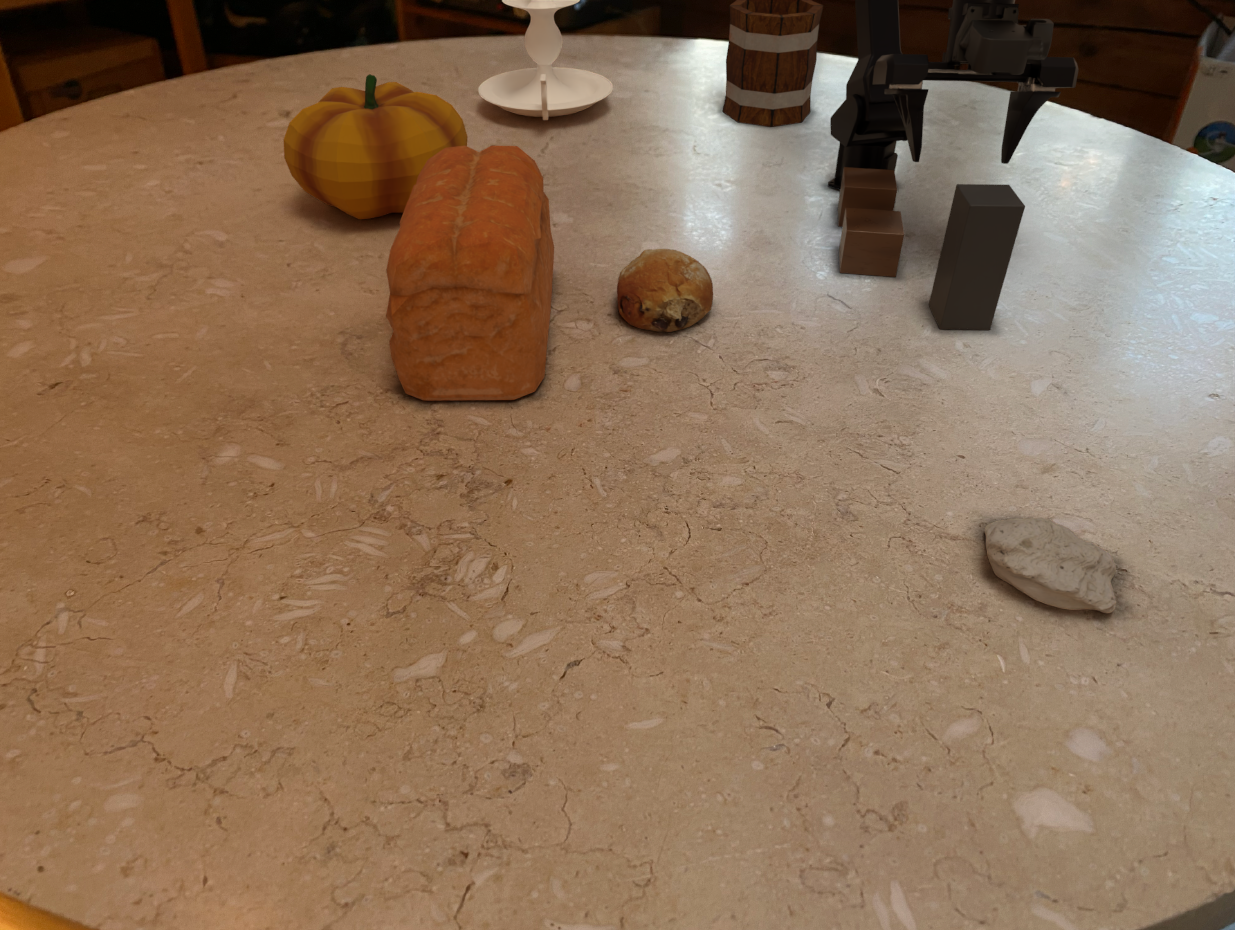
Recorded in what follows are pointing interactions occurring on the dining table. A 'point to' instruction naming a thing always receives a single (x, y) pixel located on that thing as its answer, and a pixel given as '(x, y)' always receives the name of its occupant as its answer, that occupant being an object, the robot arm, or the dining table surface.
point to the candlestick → (544, 71)
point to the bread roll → (664, 291)
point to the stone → (1051, 563)
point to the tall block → (975, 255)
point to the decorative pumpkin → (369, 145)
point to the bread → (472, 277)
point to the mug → (771, 60)
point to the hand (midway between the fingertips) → (960, 162)
